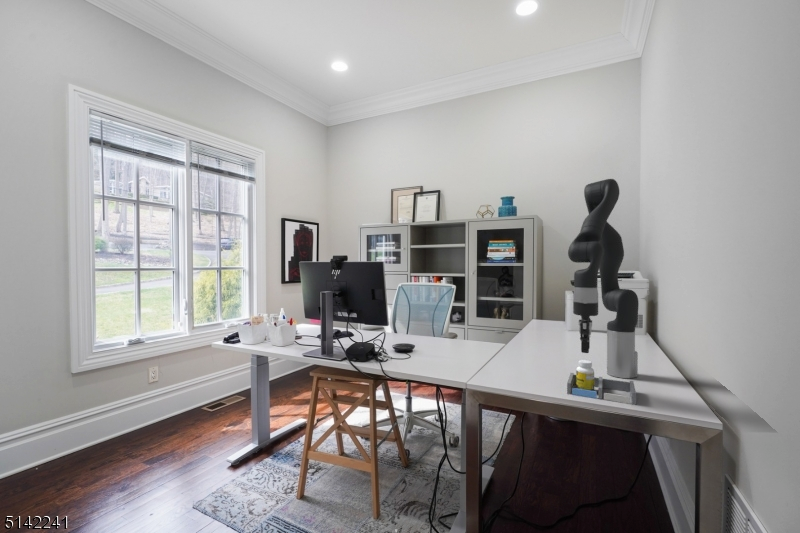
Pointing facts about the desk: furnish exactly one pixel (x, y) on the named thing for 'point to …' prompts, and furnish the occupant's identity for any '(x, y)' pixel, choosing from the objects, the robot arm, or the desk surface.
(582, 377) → the supplement bottle
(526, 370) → the desk surface
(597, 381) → the divided storage rack
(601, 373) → the desk surface
